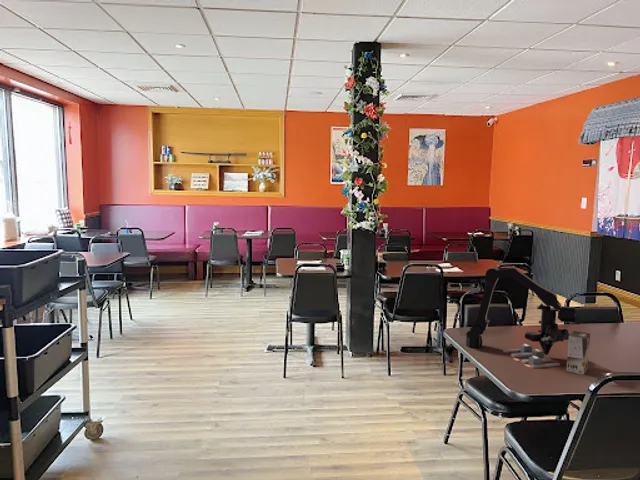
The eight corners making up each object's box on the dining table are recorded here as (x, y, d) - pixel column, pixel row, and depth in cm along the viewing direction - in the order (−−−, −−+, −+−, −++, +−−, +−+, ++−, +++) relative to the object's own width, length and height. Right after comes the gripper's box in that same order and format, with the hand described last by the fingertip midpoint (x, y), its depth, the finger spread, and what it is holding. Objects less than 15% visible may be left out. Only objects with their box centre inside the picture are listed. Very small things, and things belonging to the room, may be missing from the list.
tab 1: (524, 353, 208) (524, 345, 208) (520, 351, 211) (520, 343, 210) (531, 353, 209) (532, 345, 209) (527, 351, 212) (528, 343, 211)
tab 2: (535, 359, 201) (536, 351, 200) (531, 357, 203) (531, 349, 203) (543, 358, 202) (544, 350, 201) (539, 356, 204) (539, 348, 204)
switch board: (529, 371, 190) (529, 366, 190) (500, 354, 210) (500, 350, 210) (562, 368, 194) (563, 363, 194) (531, 352, 213) (531, 348, 213)
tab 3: (533, 366, 192) (533, 358, 192) (528, 364, 195) (529, 356, 194) (541, 366, 193) (541, 357, 192) (536, 363, 196) (537, 355, 195)
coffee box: (583, 377, 184) (586, 338, 183) (565, 373, 188) (568, 335, 187) (587, 371, 191) (590, 333, 190) (570, 367, 195) (573, 330, 194)
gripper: (542, 326, 192) (540, 362, 194) (580, 324, 196) (578, 359, 198) (525, 319, 203) (522, 353, 204) (561, 317, 207) (559, 351, 209)
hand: (546, 354), depth 203 cm, fingers closed
